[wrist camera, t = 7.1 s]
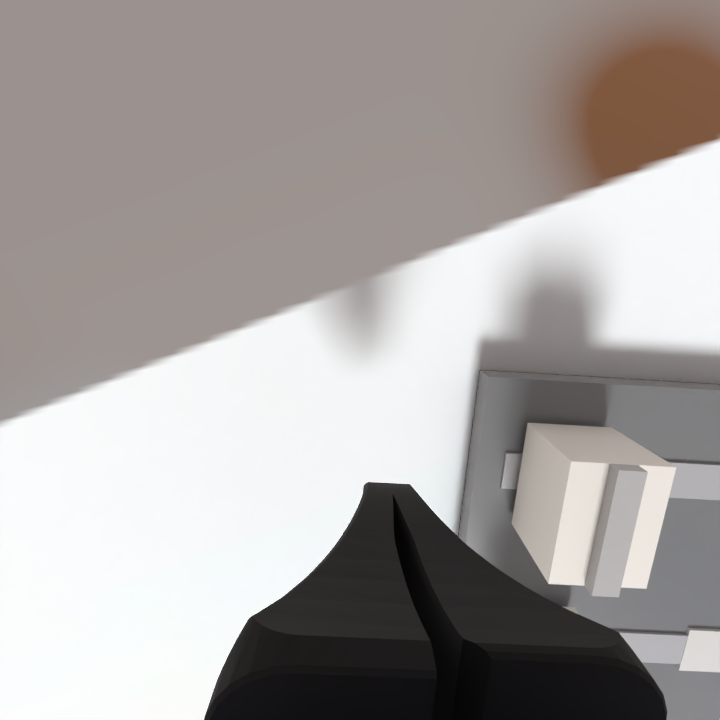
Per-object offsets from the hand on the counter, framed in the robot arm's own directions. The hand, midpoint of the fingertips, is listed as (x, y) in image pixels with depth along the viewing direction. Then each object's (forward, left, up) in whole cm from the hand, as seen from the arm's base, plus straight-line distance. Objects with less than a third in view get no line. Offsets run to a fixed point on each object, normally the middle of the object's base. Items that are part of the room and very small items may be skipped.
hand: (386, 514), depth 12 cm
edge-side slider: (-7, 0, -3) cm, 7 cm away
